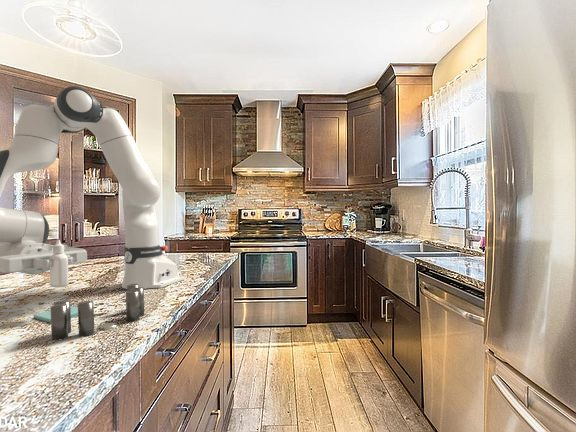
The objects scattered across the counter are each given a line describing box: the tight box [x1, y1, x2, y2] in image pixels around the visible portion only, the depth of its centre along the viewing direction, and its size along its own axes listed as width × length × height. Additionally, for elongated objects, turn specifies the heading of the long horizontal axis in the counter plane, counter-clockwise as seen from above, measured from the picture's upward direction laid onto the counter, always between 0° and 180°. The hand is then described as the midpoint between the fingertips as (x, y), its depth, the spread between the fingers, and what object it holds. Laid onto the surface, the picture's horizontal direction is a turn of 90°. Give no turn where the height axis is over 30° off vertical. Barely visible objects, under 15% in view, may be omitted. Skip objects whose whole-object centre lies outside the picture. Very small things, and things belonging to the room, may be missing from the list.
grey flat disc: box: [100, 322, 119, 331], centre depth 80 cm, size 4×4×1 cm
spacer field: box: [49, 284, 145, 341], centre depth 82 cm, size 23×10×7 cm, turn 151°
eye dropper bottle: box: [49, 239, 70, 288], centre depth 89 cm, size 4×6×12 cm
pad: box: [33, 305, 78, 324], centre depth 90 cm, size 9×9×1 cm
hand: (60, 262), depth 89 cm, fingers closed on eye dropper bottle, 3 cm apart
